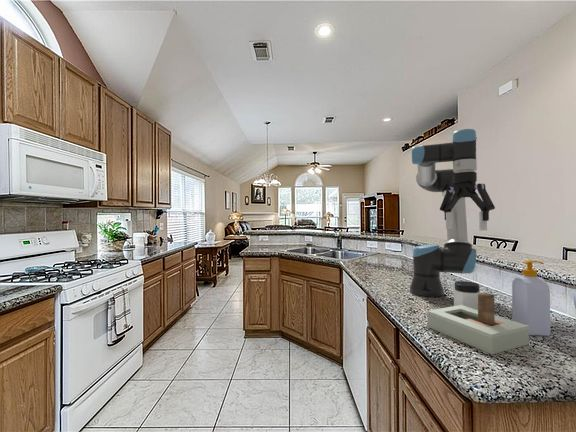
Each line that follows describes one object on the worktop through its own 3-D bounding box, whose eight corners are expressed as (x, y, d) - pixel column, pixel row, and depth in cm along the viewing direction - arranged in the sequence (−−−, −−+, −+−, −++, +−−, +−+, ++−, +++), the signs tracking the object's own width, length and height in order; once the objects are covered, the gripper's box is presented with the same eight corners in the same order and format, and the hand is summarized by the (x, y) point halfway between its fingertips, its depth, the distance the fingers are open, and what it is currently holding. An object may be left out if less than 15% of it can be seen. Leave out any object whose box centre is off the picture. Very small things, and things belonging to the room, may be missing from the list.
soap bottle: (553, 336, 92) (552, 263, 92) (528, 335, 93) (527, 262, 93) (535, 326, 101) (534, 258, 101) (512, 325, 102) (511, 258, 102)
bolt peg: (473, 338, 92) (473, 293, 92) (484, 335, 94) (483, 291, 94) (488, 344, 88) (488, 297, 88) (499, 341, 90) (499, 295, 89)
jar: (456, 317, 111) (456, 285, 110) (451, 310, 118) (451, 280, 118) (484, 319, 108) (483, 286, 108) (477, 312, 116) (477, 281, 116)
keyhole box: (427, 326, 102) (427, 310, 102) (461, 320, 108) (460, 304, 108) (491, 354, 81) (491, 334, 81) (528, 344, 87) (528, 325, 87)
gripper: (429, 176, 120) (430, 228, 120) (491, 166, 97) (492, 231, 97) (443, 176, 123) (444, 227, 123) (506, 167, 100) (507, 230, 100)
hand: (465, 229), depth 110 cm, fingers open, 13 cm apart
